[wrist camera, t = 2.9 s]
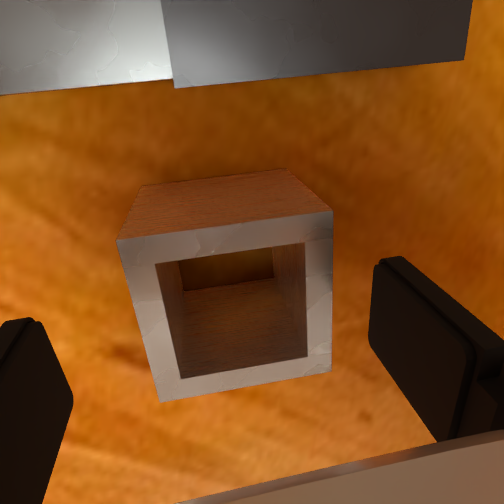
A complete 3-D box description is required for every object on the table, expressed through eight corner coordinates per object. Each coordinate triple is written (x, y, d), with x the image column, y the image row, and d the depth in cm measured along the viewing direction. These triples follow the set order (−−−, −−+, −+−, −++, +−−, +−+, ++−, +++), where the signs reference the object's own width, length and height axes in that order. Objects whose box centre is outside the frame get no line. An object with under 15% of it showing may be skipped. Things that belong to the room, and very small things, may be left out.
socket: (286, 168, 16) (333, 210, 11) (291, 290, 19) (331, 371, 14) (141, 186, 16) (115, 240, 10) (168, 309, 18) (160, 402, 13)
